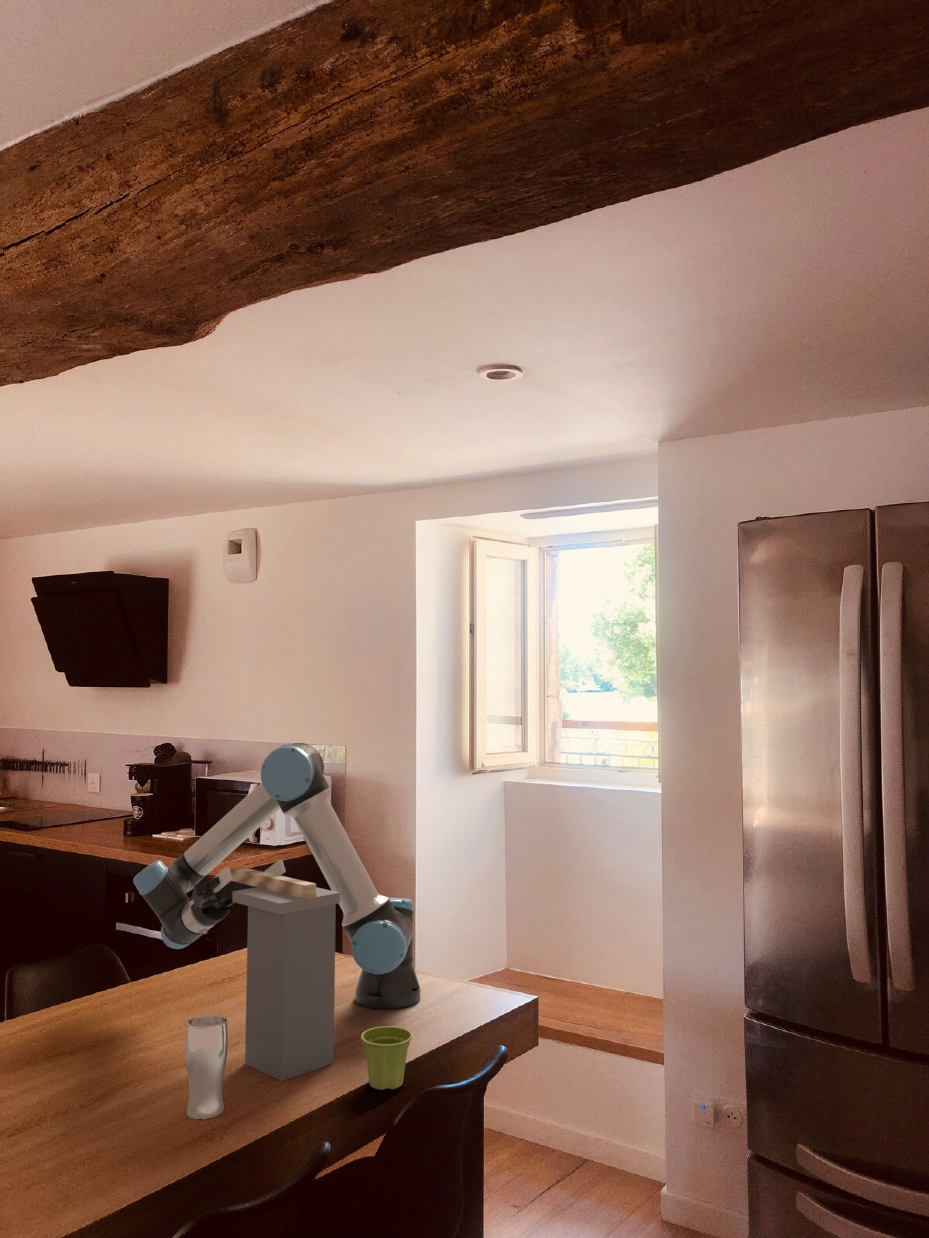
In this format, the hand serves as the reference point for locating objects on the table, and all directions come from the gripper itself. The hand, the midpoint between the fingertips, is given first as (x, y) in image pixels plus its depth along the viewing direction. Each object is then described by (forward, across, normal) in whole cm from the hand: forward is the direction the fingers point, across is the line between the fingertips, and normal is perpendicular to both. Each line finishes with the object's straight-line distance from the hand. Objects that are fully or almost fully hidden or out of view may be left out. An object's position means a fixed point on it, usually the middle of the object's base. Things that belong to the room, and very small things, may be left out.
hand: (256, 869), depth 196 cm
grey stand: (-9, 0, -36) cm, 37 cm away
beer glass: (0, +23, -41) cm, 47 cm away
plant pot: (+11, -7, -47) cm, 49 cm away
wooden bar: (+3, 0, -5) cm, 6 cm away
